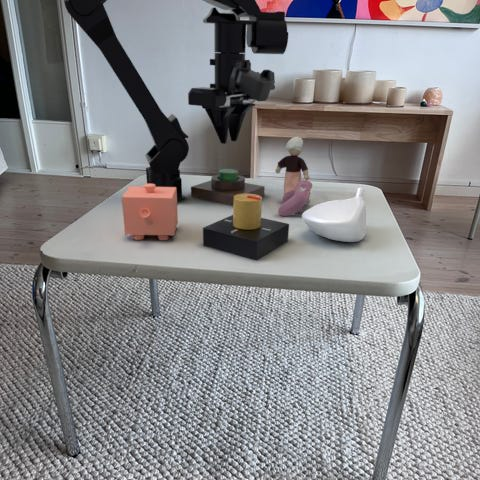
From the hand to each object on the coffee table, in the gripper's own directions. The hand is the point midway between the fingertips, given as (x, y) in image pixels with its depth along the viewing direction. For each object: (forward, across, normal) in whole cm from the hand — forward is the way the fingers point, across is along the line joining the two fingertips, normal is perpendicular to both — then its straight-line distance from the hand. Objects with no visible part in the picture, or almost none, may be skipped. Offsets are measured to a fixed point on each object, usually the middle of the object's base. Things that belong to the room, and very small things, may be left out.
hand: (228, 142), depth 95 cm
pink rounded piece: (+11, 0, -16) cm, 19 cm away
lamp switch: (+7, 0, 0) cm, 7 cm away
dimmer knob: (+8, -21, -18) cm, 29 cm away
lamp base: (+11, 0, 0) cm, 11 cm away
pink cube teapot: (+11, -27, -3) cm, 30 cm away
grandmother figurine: (+11, +4, -13) cm, 17 cm away
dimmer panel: (+11, -21, -18) cm, 30 cm away
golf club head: (+11, -9, -28) cm, 31 cm away
